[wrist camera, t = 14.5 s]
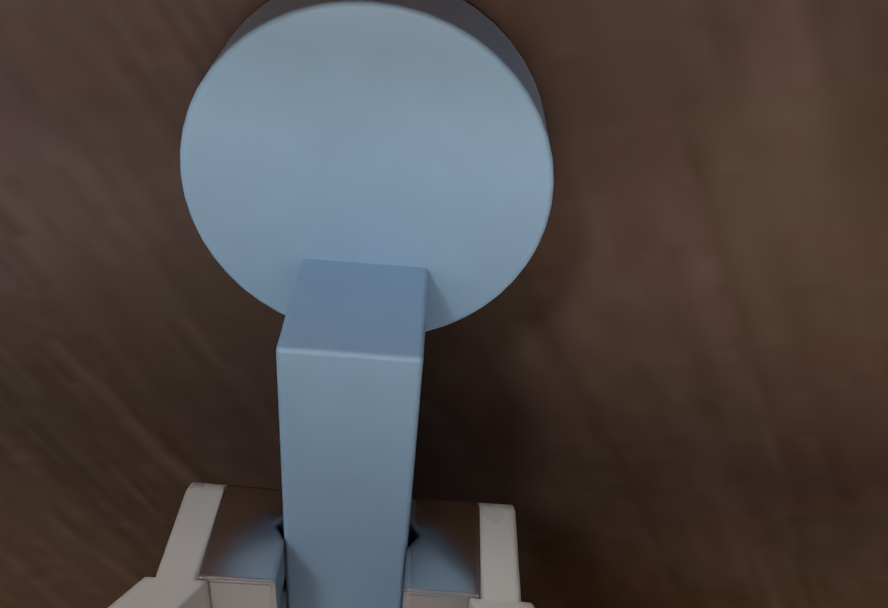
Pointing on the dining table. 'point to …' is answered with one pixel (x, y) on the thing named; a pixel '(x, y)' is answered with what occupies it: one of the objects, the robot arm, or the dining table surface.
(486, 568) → the robot arm
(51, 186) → the dining table surface
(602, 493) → the dining table surface
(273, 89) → the blue spoon
